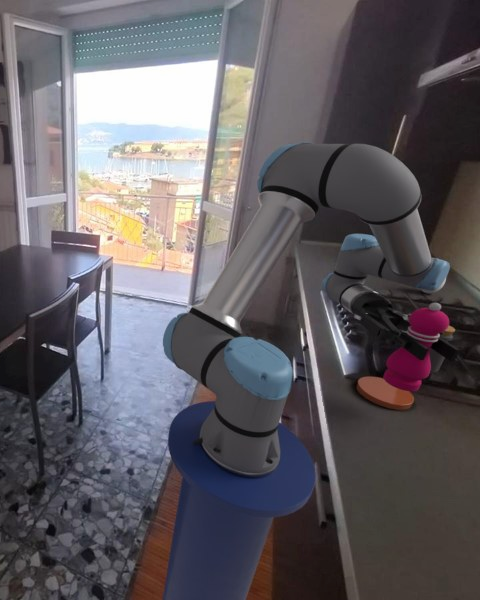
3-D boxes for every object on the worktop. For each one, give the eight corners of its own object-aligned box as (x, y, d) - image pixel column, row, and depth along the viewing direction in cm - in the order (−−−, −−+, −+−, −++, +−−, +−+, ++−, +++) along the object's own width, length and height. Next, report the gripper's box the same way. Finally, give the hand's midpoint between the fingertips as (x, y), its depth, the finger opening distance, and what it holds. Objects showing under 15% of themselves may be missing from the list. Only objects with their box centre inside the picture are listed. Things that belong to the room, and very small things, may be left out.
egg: (442, 294, 144) (455, 267, 139) (434, 298, 141) (446, 270, 136) (419, 288, 150) (431, 261, 145) (411, 291, 146) (422, 264, 142)
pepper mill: (408, 396, 76) (448, 313, 68) (372, 377, 82) (405, 299, 74) (429, 388, 78) (469, 307, 70) (392, 370, 85) (426, 293, 76)
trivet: (366, 405, 86) (369, 400, 85) (349, 377, 95) (351, 373, 95) (421, 413, 83) (424, 408, 82) (398, 384, 92) (400, 380, 92)
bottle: (439, 382, 93) (465, 333, 87) (413, 380, 94) (437, 331, 88) (423, 369, 98) (447, 322, 92) (400, 367, 99) (421, 320, 93)
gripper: (398, 318, 93) (480, 372, 72) (325, 316, 94) (384, 368, 73) (409, 292, 90) (498, 340, 69) (333, 290, 91) (398, 337, 70)
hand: (439, 354), depth 71 cm, fingers closed on pepper mill, 5 cm apart
